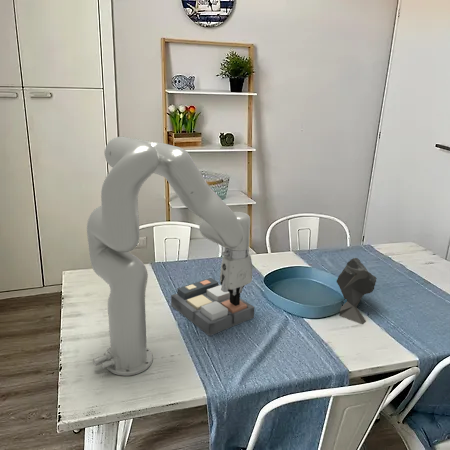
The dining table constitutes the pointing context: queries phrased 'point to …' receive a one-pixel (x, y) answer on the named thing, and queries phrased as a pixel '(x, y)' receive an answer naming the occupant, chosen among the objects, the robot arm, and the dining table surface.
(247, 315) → the keypad
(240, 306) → the key terracotta
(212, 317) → the key grey front
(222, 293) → the key grey back
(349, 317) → the dark faceted sculpture
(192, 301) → the key sand
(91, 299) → the dining table surface
